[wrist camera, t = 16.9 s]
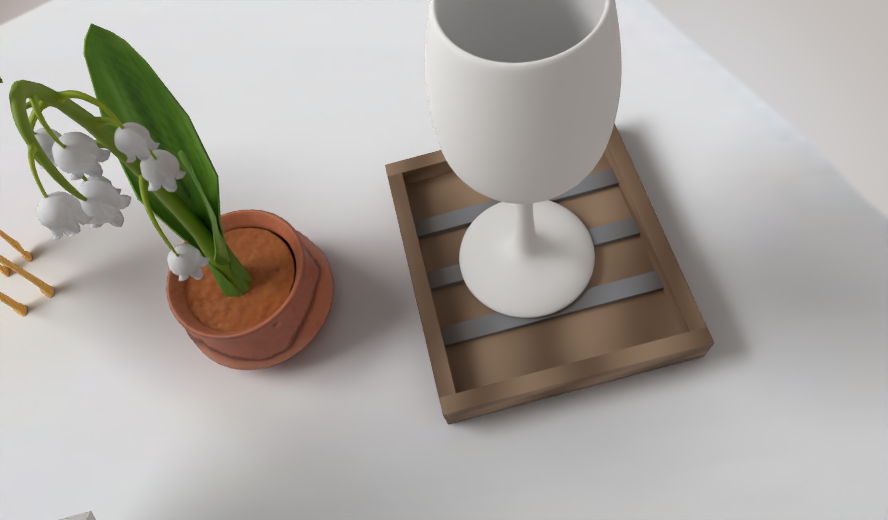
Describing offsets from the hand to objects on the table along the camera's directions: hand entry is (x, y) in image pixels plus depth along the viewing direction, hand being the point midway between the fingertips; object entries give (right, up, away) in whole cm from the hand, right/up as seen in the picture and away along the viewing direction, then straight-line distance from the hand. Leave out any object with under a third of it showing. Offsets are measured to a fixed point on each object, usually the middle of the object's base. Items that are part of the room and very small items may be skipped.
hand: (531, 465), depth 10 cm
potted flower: (-13, -1, +34) cm, 36 cm away
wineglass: (+4, +3, +32) cm, 32 cm away
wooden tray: (+5, +3, +33) cm, 34 cm away
